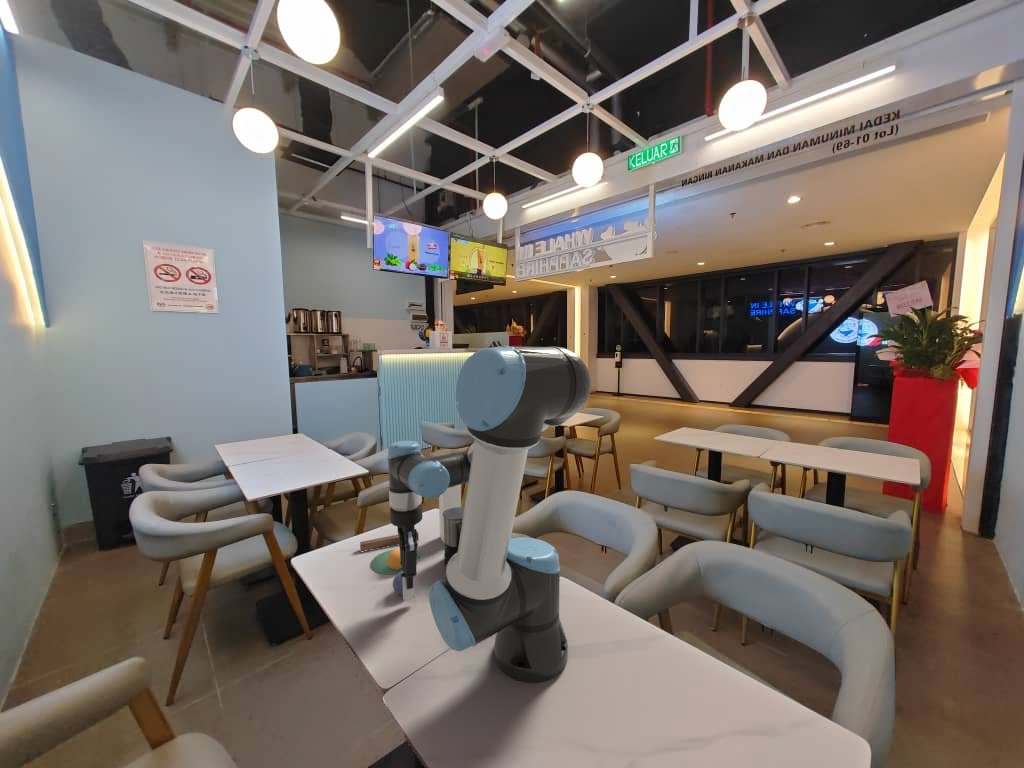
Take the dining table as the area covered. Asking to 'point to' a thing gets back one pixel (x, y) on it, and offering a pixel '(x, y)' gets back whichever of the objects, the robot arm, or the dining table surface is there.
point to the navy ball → (398, 584)
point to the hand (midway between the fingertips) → (409, 598)
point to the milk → (448, 504)
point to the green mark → (384, 564)
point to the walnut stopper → (381, 542)
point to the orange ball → (394, 559)
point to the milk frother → (452, 531)
